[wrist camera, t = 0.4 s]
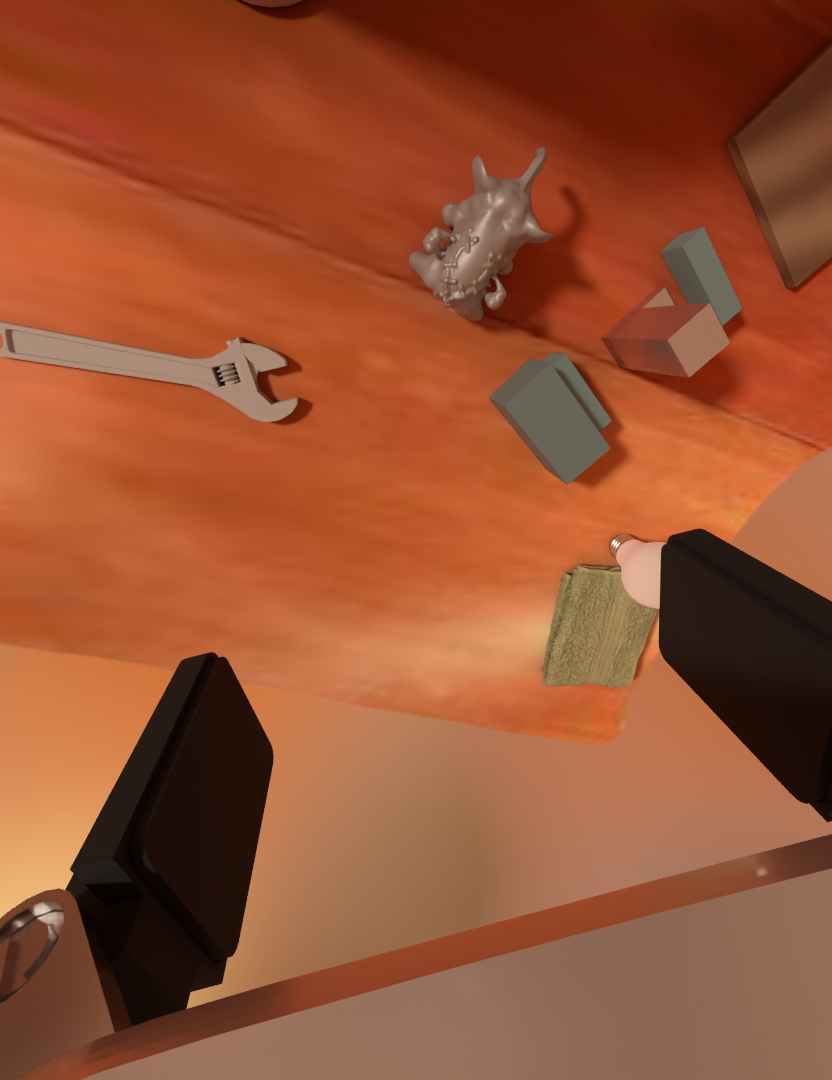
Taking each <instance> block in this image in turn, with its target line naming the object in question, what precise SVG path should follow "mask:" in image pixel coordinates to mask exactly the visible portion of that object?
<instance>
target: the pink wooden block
mask: <svg viewBox="0 0 832 1080" xmlns="http://www.w3.org/2000/svg"><path fill="white" fill-rule="evenodd" d="M601 339H602V340H603V342H604V343H605V345H606V347H607V348H608V350H609V351H610V353H611V354H612V356H613V358H614V359H615V361H616V362H617V364H618V365H619V367H620V368H624V369H631V370H638V371H645V372H652V373H659V374H667V375H674V376H681V377H688V378H689V377H690V376H692V375H693V374H694V373H695V372H696V371H698V370H699V369H700V368H701V367H702V366H703V365H705V364H706V363H707V362H708V361H709V360H710V359H712V358H713V357H714V356H715V355H716V354H718V353H719V352H720V351H721V350H722V349H723V348H725V347H726V346H727V345H728V344H729V343H730V342H729V340H728V338H727V336H726V334H725V332H724V330H723V328H722V326H721V324H720V322H719V320H718V318H717V316H716V314H715V312H714V310H713V308H712V306H711V304H710V303H701V304H688V305H674V303H673V301H672V299H671V298H670V296H669V294H668V292H667V290H666V288H665V287H664V288H657V289H654V290H653V291H652V292H651V293H650V294H648V295H647V296H646V297H645V298H644V299H643V300H642V301H641V302H640V303H639V304H637V305H636V306H635V307H634V308H633V309H632V310H631V311H630V312H629V313H628V314H627V315H625V316H624V317H623V318H622V319H621V320H620V321H619V322H618V323H617V324H616V325H614V326H613V327H612V328H611V329H610V330H609V331H608V332H607V333H606V334H605V335H604V336H602V337H601Z"/></svg>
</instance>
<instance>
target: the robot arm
mask: <svg viewBox="0 0 832 1080" xmlns="http://www.w3.org/2000/svg"><path fill="white" fill-rule="evenodd" d="M243 1H245V2H247V3H250V4H252V5H258V6H264V7H270V8H271V7H281V6H289V5H292V4H294V3H297V2H300V1H302V0H243ZM659 648H660V652H661V654H662V656H663V658H664V659H665V661H666V662H667V663H668V664H669V665H670V666H671V667H672V668H673V669H674V670H675V671H676V672H677V673H678V675H679V676H680V677H681V678H682V679H683V680H684V681H685V682H686V683H687V684H688V685H689V686H690V687H691V688H692V689H693V691H694V692H695V693H696V694H697V695H698V696H699V697H700V698H701V699H702V700H703V701H704V702H705V703H706V704H707V705H708V706H709V708H711V710H713V712H714V713H715V714H716V715H717V716H718V717H719V718H720V719H721V720H722V721H723V722H724V723H725V724H726V726H728V728H729V729H730V730H731V731H732V732H733V733H734V734H735V735H736V736H737V737H738V738H739V739H740V740H741V741H742V742H743V743H744V744H745V746H746V747H747V748H748V749H749V750H750V751H751V752H752V753H753V754H754V755H755V756H756V757H757V758H758V759H759V760H760V762H761V763H762V764H763V765H764V766H765V767H766V768H767V769H768V770H769V771H770V772H771V773H772V774H773V775H774V776H775V777H776V779H777V780H778V781H779V782H781V784H782V785H783V786H784V787H785V788H786V789H787V790H788V791H789V792H790V793H791V794H792V795H793V796H794V797H795V798H796V799H797V800H799V801H800V802H803V803H806V804H807V803H809V804H810V805H811V806H812V807H813V808H814V809H815V810H816V811H817V812H818V813H819V814H820V815H821V816H822V817H823V818H824V819H825V820H826V821H827V822H830V821H832V602H831V601H830V600H828V599H826V598H824V597H822V596H821V595H819V594H817V593H815V592H814V591H812V590H810V589H808V588H806V587H805V586H803V585H801V584H800V583H798V582H796V581H794V580H792V579H791V578H789V577H787V576H785V575H784V574H782V573H780V572H778V571H776V570H775V569H773V568H771V567H769V566H768V565H766V564H764V563H762V562H761V561H759V560H757V559H755V558H754V557H752V556H750V555H748V554H746V553H745V552H743V551H741V550H739V549H737V548H736V547H734V546H732V545H731V544H729V543H727V542H725V541H723V540H722V539H720V538H718V537H716V536H715V535H713V534H711V533H709V532H707V531H706V530H703V529H694V530H690V531H687V532H683V533H679V534H675V535H672V536H670V537H669V539H668V541H667V544H664V545H663V546H662V548H661V569H660V611H659ZM272 766H273V750H272V746H271V743H270V742H269V740H268V738H267V736H266V734H265V732H264V730H263V728H262V726H261V724H260V722H259V720H258V718H257V716H256V714H255V712H254V710H253V708H252V706H251V705H250V703H249V701H248V699H247V697H246V695H245V693H244V691H243V689H242V687H241V685H240V683H239V681H238V679H237V677H236V675H235V673H234V672H233V670H232V668H231V666H230V664H229V662H228V660H227V659H226V658H225V657H218V656H217V655H216V654H215V653H212V652H210V653H206V654H202V655H198V656H194V657H190V658H186V659H184V660H182V661H181V662H180V664H179V666H178V668H177V669H176V671H175V673H174V675H173V677H172V679H171V681H170V683H169V684H168V686H167V688H166V690H165V692H164V694H163V696H162V698H161V700H160V701H159V703H158V705H157V707H156V709H155V711H154V713H153V714H152V716H151V718H150V720H149V722H148V724H147V726H146V728H145V730H144V731H143V733H142V735H141V737H140V739H139V741H138V743H137V745H136V746H135V748H134V750H133V752H132V754H131V756H130V758H129V759H128V761H127V763H126V765H125V767H124V769H123V771H122V773H121V774H120V776H119V778H118V780H117V782H116V784H115V786H114V788H113V789H112V791H111V793H110V795H109V797H108V799H107V801H106V803H105V804H104V806H103V808H102V810H101V812H100V814H99V816H98V818H97V819H96V821H95V823H94V825H93V827H92V829H91V831H90V833H89V834H88V836H87V838H86V840H85V842H84V844H83V846H82V848H81V849H80V851H79V853H78V855H77V857H76V859H75V861H74V863H73V865H72V866H71V868H70V870H71V871H72V872H73V873H74V874H73V876H72V878H71V880H70V882H69V884H68V886H67V888H66V890H62V889H54V890H48V891H44V892H41V893H39V894H37V895H35V896H33V897H31V898H28V899H26V900H25V901H23V902H22V903H20V904H19V905H17V906H16V907H15V908H13V909H12V910H10V911H9V912H7V913H6V914H5V915H4V916H3V917H2V918H1V919H0V1080H832V834H831V835H827V836H823V837H819V838H815V839H811V840H808V841H804V842H800V843H796V844H792V845H789V846H785V847H781V848H777V849H773V850H769V851H765V852H762V853H758V854H754V855H750V856H746V857H743V858H739V859H735V860H731V861H727V862H723V863H720V864H716V865H712V866H708V867H705V868H700V869H697V870H693V871H689V872H685V873H681V874H677V875H674V876H670V877H666V878H662V879H658V880H654V881H651V882H647V883H643V884H639V885H636V886H632V887H629V888H624V889H621V890H617V891H613V892H609V893H606V894H602V895H598V896H594V897H591V898H587V899H583V900H579V901H576V902H572V903H568V904H564V905H561V906H557V907H553V908H550V909H546V910H542V911H539V912H535V913H531V914H527V915H523V916H520V917H516V918H513V919H508V920H505V921H501V922H497V923H493V924H490V925H486V926H482V927H479V928H475V929H471V930H468V931H464V932H460V933H456V934H452V935H449V936H445V937H441V938H438V939H434V940H430V941H427V942H424V943H420V944H416V945H412V946H409V947H405V948H401V949H398V950H394V951H390V952H387V953H383V954H379V955H376V956H372V957H368V958H365V959H361V960H357V961H354V962H350V963H346V964H343V965H339V966H335V967H332V968H328V969H324V970H321V971H317V972H313V973H310V974H306V975H302V976H299V977H295V978H292V979H288V980H284V981H281V982H277V983H273V984H270V985H266V986H263V987H260V988H256V989H253V990H250V991H246V992H243V993H240V994H236V995H233V996H229V997H226V998H223V999H219V1000H216V1001H212V1002H209V1003H206V1004H202V1005H199V1006H196V1007H192V1008H189V1009H186V1008H187V1003H188V1000H189V996H190V992H192V991H196V990H200V989H203V988H207V987H211V986H214V985H218V984H222V981H223V976H224V971H225V967H226V961H227V958H228V957H231V956H233V954H234V953H235V951H236V949H237V946H238V942H239V938H240V932H241V927H242V922H243V917H244V912H245V907H246V901H247V896H248V891H249V886H250V881H251V875H252V870H253V865H254V860H255V855H256V849H257V844H258V839H259V833H260V829H261V824H262V818H263V813H264V808H265V803H266V797H267V792H268V787H269V782H270V777H271V772H272Z"/></svg>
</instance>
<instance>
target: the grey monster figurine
mask: <svg viewBox="0 0 832 1080" xmlns="http://www.w3.org/2000/svg"><path fill="white" fill-rule="evenodd" d="M546 159H547V151H546V149H545V148H544V147H540V148H538V149H537V150H536V152H535V159H534V160H533V162H532V163H531V164H530V166H529V168H528V169H527V171H526V172H525V173H524V174H523V175H522V176H521V177H519V178H516V179H501V178H496V177H491V176H489V175H488V174H487V173H486V171H485V168H484V165H483V162H482V160H481V157H480V156H478V155H477V156H476V157H475V158H474V160H473V163H472V169H471V172H472V179H473V184H474V189H475V194H474V195H472V196H471V197H470V198H468V199H466V200H464V201H462V202H461V203H460V204H459V205H457V204H454V203H448V204H446V205H445V206H444V207H443V210H442V218H443V221H444V223H445V225H446V226H447V227H449V228H454V229H453V232H452V234H450V233H448V232H446V231H444V230H442V229H440V228H438V227H435V228H433V229H432V230H431V232H430V233H428V234H427V235H426V236H425V238H424V241H423V246H424V248H425V249H426V251H427V252H429V253H432V254H431V255H426V253H425V252H423V251H415V252H413V253H412V254H411V255H410V257H409V264H410V267H411V269H412V270H413V271H414V272H417V273H418V274H419V275H420V277H421V278H422V279H423V282H424V284H425V285H426V286H427V287H428V288H429V289H431V290H432V291H433V295H434V298H435V299H439V298H441V299H442V300H443V301H444V307H452V308H453V309H454V310H455V311H456V312H457V313H458V314H459V315H464V316H466V317H467V318H468V319H469V320H471V321H479V320H481V319H482V317H483V314H484V312H483V306H482V304H481V301H482V298H483V296H484V299H485V302H486V304H487V305H488V307H489V308H491V309H493V310H495V309H498V308H499V307H500V306H501V304H502V303H503V300H504V299H505V298H506V296H507V292H506V290H505V289H504V287H503V285H502V284H501V282H500V281H499V279H498V276H497V274H499V275H508V274H509V273H510V272H511V271H512V269H513V262H512V259H513V258H514V257H515V255H516V253H517V250H518V248H520V247H521V246H522V245H523V244H524V243H544V242H547V241H549V240H550V239H551V238H552V237H553V236H554V234H551V233H545V232H543V231H542V230H541V229H540V227H539V225H538V223H537V221H536V220H535V217H534V213H533V210H532V202H531V186H532V184H533V182H534V180H535V178H536V177H537V175H538V174H539V172H540V171H541V169H542V167H543V164H544V162H545V161H546ZM443 238H449V241H448V243H445V244H444V247H443V248H440V241H441V239H443ZM490 279H493V280H494V281H495V282H496V286H497V291H495V292H487V289H486V287H488V288H490V287H491V284H490Z"/></svg>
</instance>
